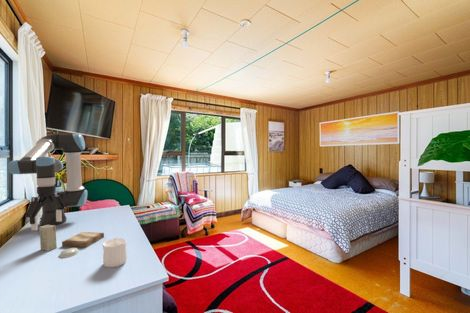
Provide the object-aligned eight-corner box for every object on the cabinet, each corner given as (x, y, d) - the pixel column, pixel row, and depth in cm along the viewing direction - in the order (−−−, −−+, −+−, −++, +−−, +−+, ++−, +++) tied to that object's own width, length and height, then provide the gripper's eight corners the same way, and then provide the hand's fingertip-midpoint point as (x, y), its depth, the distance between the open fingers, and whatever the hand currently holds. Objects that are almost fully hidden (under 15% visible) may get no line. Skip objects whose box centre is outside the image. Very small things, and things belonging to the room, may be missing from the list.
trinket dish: (69, 250, 115) (69, 247, 115) (83, 251, 114) (83, 247, 114) (55, 257, 107) (55, 254, 107) (70, 258, 106) (70, 255, 106)
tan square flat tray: (82, 236, 133) (82, 231, 132) (103, 237, 131) (103, 232, 131) (62, 246, 119) (61, 241, 118) (85, 247, 117) (85, 242, 117)
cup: (111, 257, 107) (110, 237, 106) (131, 257, 106) (130, 237, 106) (98, 268, 97) (97, 246, 97) (120, 268, 97) (119, 246, 96)
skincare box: (57, 247, 117) (56, 225, 117) (47, 251, 113) (47, 228, 113) (49, 246, 119) (48, 224, 119) (39, 249, 115) (39, 226, 115)
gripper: (61, 182, 128) (62, 218, 128) (13, 189, 103) (15, 234, 103) (72, 182, 127) (73, 218, 127) (28, 189, 102) (29, 234, 103)
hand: (47, 225), depth 115 cm, fingers open, 13 cm apart
